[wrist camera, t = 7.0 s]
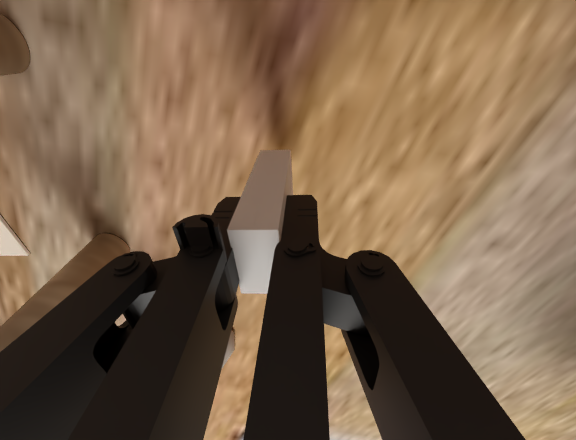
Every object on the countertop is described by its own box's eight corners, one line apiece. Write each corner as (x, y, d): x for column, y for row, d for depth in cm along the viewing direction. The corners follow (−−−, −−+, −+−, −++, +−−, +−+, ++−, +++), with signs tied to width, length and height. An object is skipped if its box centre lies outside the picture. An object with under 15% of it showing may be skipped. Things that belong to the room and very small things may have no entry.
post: (121, 233, 19) (3, 358, 12) (135, 260, 21) (38, 386, 13) (87, 233, 19) (-50, 356, 12) (103, 260, 21) (-10, 384, 13)
